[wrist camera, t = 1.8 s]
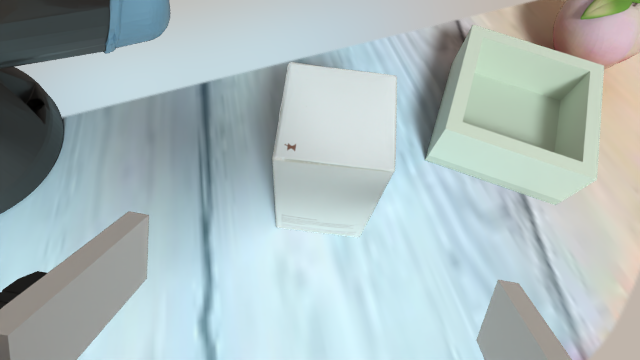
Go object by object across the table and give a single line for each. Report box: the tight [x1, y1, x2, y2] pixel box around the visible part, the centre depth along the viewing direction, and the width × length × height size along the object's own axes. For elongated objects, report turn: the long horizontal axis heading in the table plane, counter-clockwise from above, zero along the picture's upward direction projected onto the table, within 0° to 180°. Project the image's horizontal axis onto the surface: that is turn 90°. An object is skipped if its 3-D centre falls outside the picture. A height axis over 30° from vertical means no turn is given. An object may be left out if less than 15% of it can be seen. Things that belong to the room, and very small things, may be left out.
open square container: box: [425, 25, 604, 205], centre depth 38 cm, size 12×12×6 cm
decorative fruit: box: [553, 0, 640, 69], centre depth 41 cm, size 9×8×10 cm
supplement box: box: [272, 62, 397, 237], centre depth 31 cm, size 7×7×13 cm
